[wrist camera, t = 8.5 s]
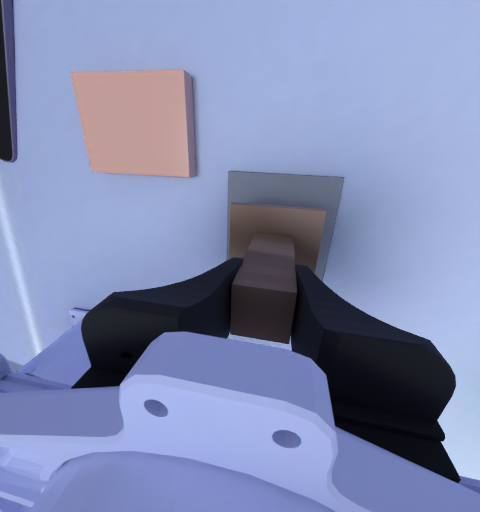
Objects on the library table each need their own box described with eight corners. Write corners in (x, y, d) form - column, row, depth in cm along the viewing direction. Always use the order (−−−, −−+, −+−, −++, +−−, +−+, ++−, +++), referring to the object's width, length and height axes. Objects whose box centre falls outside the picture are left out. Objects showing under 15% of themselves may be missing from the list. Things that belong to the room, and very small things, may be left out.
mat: (321, 278, 21) (322, 281, 21) (227, 267, 23) (226, 269, 22) (343, 177, 18) (344, 177, 17) (229, 171, 19) (228, 171, 19)
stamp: (309, 289, 17) (324, 381, 10) (230, 279, 18) (193, 356, 11) (324, 208, 15) (358, 255, 8) (233, 201, 16) (187, 237, 9)
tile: (189, 177, 18) (183, 69, 16) (91, 171, 20) (70, 72, 17) (197, 175, 20) (194, 78, 17) (107, 170, 22) (90, 80, 19)
